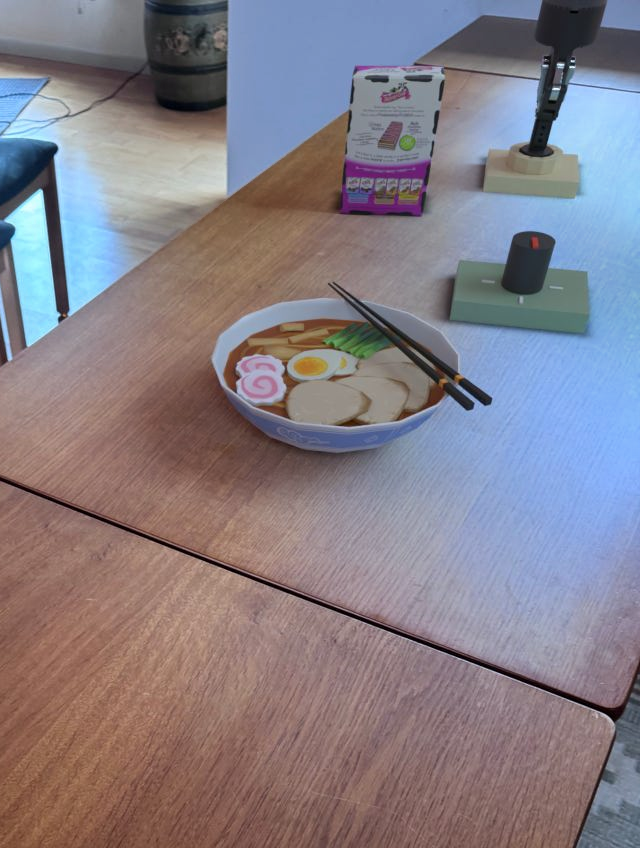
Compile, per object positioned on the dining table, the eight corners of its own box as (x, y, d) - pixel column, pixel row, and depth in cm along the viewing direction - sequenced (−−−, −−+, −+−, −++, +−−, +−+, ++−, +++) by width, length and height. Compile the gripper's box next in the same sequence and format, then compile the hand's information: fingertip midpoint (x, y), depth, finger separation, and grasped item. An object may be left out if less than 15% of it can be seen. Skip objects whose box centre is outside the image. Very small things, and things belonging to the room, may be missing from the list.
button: (548, 158, 126) (552, 144, 124) (548, 169, 123) (552, 155, 122) (518, 156, 127) (521, 142, 125) (518, 166, 124) (521, 153, 123)
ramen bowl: (171, 387, 94) (169, 313, 88) (365, 340, 99) (376, 267, 93) (278, 532, 78) (284, 453, 72) (503, 467, 83) (526, 389, 77)
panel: (579, 296, 104) (587, 269, 102) (581, 340, 98) (590, 312, 95) (454, 284, 107) (459, 258, 105) (447, 326, 101) (453, 298, 98)
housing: (573, 171, 129) (581, 140, 126) (574, 199, 122) (583, 167, 119) (485, 164, 131) (492, 135, 128) (482, 192, 125) (489, 161, 122)
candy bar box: (422, 202, 123) (446, 64, 111) (422, 217, 120) (447, 77, 108) (339, 199, 125) (353, 62, 113) (337, 214, 121) (352, 75, 109)
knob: (500, 274, 102) (512, 227, 98) (541, 277, 101) (554, 229, 97) (501, 293, 99) (514, 244, 95) (543, 295, 98) (558, 247, 94)
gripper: (543, -18, 116) (509, 129, 129) (543, 10, 107) (506, 165, 120) (606, -17, 114) (565, 133, 127) (610, 12, 106) (566, 169, 119)
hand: (536, 148), depth 124 cm, fingers closed
